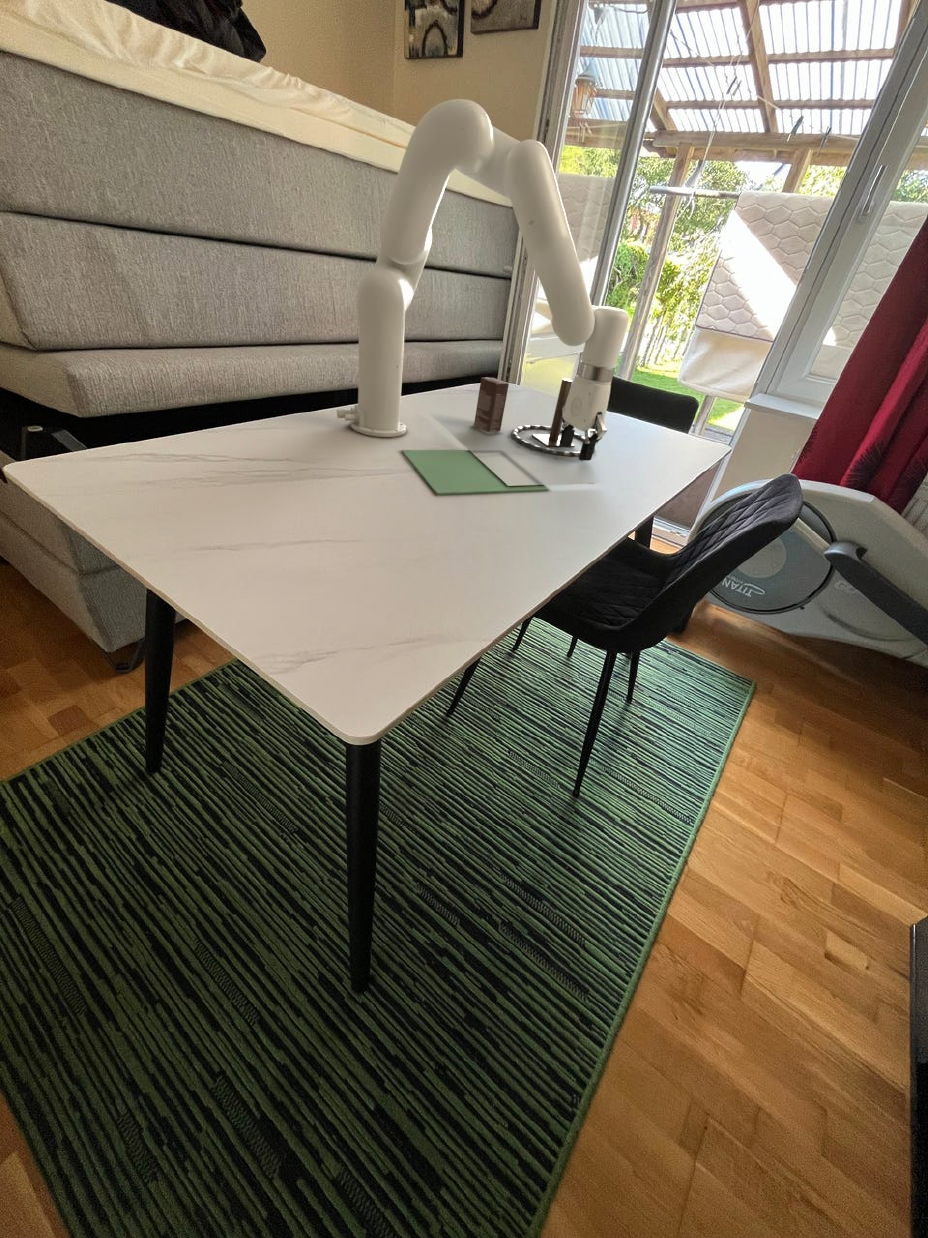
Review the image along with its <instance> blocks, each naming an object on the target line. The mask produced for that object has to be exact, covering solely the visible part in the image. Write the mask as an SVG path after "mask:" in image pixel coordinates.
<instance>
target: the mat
mask: <svg viewBox="0 0 928 1238" xmlns="http://www.w3.org/2000/svg"><path fill="white" fill-rule="evenodd" d="M401 453H402V454H403V455H404V457H405V458H406V459H407V460H408V461H409V463H410V464H411V465H412V466H413V467H414V469H415V471H417V472H418V474H419V475H420V476H421V477H422V478H423V480H424V481H425V482H426V483H427V484H428V486H429V487H430V489H432V490H433V492H434V493H435V494H436V495H437V496H447V495H475V494H476V495H477V494H500V493H504V494H505V493H529V492H530V493H531V492H549V488H548V487H547V486H545V485H544V484H523V485H522V484H521V485H520V484H519V485H508V484H507V483H506V482H505V481H504V480H503V479H501V477H499V476H498V475H497V474H496V473H495V472H494V471H493V470H492V469H491V468H489V466H488V465H487V464H485V463H484V462H483V461H482V460H481V459H480V458H479V457H477V456H476V455H475V454H474V453H473V452H472V451H471V450H470V449H469V450H468V449H427V450H426V449H424V450H423V449H413V450H412V449H404V450H403V449H402V450H401Z"/></svg>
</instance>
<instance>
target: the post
mask: <svg viewBox="0 0 928 1238" xmlns="http://www.w3.org/2000/svg"><path fill="white" fill-rule="evenodd" d="M572 383H573V379H570V378H562V379H561V383H560V388H559V392H558V395H557V400H556V404H555V410H554V413H553V416H552V417H553V418H552V422H551V426H550V427H551V430H550V431H549V434H543V433H542V434H541V433H538V434H536V433H532V434H531V437H532V438H533V439H535V440H536V441H537V442H539V443H541V444H542V445H543V446H545V448H561V447H560V446H559V443H560V439H561V435H560V434H561V433H560V430H561V429H562V425H563V421H562V417H563V414H562V407H563V406H565V404H566V401H567V397H568V394H569V391H570V388H571V386H572ZM575 447H576V445H575V444H574V443H572V445H571V447H570V448H575Z"/></svg>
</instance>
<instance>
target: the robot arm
mask: <svg viewBox="0 0 928 1238" xmlns="http://www.w3.org/2000/svg"><path fill="white" fill-rule="evenodd" d="M455 170H457V171H458V172H459V173H461V174H462V175H464V176H465V177H467V178H469V179H472V180H473V181H475V182H477V183H479V184H481V185H482V186H484V187H486V188H488V189H489V190H491V191H493V192H495V193H497V194H499V195H500V196H503V197H505V198H507V199H508V200H510V203H511V206H512V210H513V212H514V215H515V218H516V222H517V225H518V228H519V232H520V234H521V236H522V240H523V244H524V248H525V250H526V254H527V256H528V259H529V262H530V264H531V266H532V268H533V270H534V271H535V273H536V276H537V277H538V279H539V281H540V284H541V287H542V289H543V292H544V295H545V298H546V301H547V304H548V307H549V310H550V312H551V327H552V329H553V332H554V333H555V335H556V337H558V339H559V340H560V342H561V343H563V344H564V345H566V346H569V347H579V346H581V345H583V344H584V346H583V350H582V354H581V359H580V362H579V367H578V371H577V374H576V375H575V376H574V378H573V380H572V385H571V388H570V391H569V394H568V397H567V401H566V404H565V406H563V407H562V414H563V417H562V421H563V422H562V426H561V429H564V430H563V431H562V433H561V435H560V436H561V439H560V443H559V446H560V447H559V448H572V447H571V445H572V444H573V441H574V433H576V430H575V429H577V430H579V431H581V432H584V437H585V442H582V444H581V448H580V451H579V452H580V455H579V457H578V460H579V461H591V460H592V458H593V454H594V453H593V451H594V448H595V449H596V445H598V443H599V442H600V441H601V440H602V439H603V437H604V436H605V434H606V433H607V432H608V429H607V425H606V422H605V418H606V415H607V411H608V406H609V401H610V395H611V388H612V381H613V377H614V375H615V370H616V367H617V363H618V361H619V357H620V353H621V349H622V346H623V342H624V340H625V339H624V338H625V336H626V331H627V329H628V325H629V322H630V321H629V320H630V314H629V313H628V311H626V310H624V309H621V308H617V307H612V306H604V305H599V306H598V305H593V304H592V301H591V298H590V294H589V290H588V286H587V283H586V280H585V276H584V273H583V269H582V266H581V264H580V263H581V262H580V261H579V257H578V254H577V250H576V246H575V243H574V239H573V236H572V233H571V230H570V225H569V222H568V219H567V215H566V211H565V208H564V205H563V201H562V197H561V193H560V190H559V186H558V182H557V179H556V175H555V171H554V168H553V164H552V161H551V158H550V154H549V152H548V150H547V148H546V147H545V146H544V144H542V143H541V142H540V141H538V140H536V139H525V140H522V141H520V140H519V139H516V138H514V137H512V136H510V135H509V134H507V133H506V132H504V131H502V130H500V129H498V128H497V127H495V126H494V125H492V122H491V119H490V117H489V115H488V113H487V111H486V110H485V109H484V108H483V107H482V106H481V105H480V104H479V103H477V102H475V101H473V100H471V99H465V98H453V99H448V100H445V101H442V102H440V103H438V104H436V105H435V106H433V107H432V108H431V109H430V110H428V111H427V112H426V113H425V114H424V115H423V116H422V118H421V119H420V120H419V121H418V123H417V125H416V126H415V128H414V130H413V131H412V134H411V136H410V138H409V140H408V143H407V145H406V148H405V152H404V154H403V157H402V160H401V164H400V167H399V169H398V173H397V175H396V177H395V180H394V184H393V187H392V190H391V193H390V196H389V199H388V202H387V206H386V209H385V211H384V214H383V216H382V220H381V222H380V227H379V240H380V248H379V252H378V255H377V258H376V261H375V265H374V267H373V268H370V269H369V270H368V271H366V273H364V275H363V276H362V278H361V279H360V282H359V285H358V289H357V296H356V297H357V298H356V300H357V301H356V305H357V307H356V308H357V320H358V321H357V322H358V379H357V380H358V384H357V385H358V386H357V387H358V389H357V390H358V391H357V392H358V393H357V404H354V407H350V409H345V408H336V418H337V419H344V421H350V428H352V430H354V431H355V432H358V434H359V433H360V434H363V435H366V436H371V437H376V438H377V437H378V438H394V437H399V436H402V435H404V434H405V433H406V431H407V429H406V427H407V426H406V424H404V422H402V421H400V419H401V417H400V416H401V401H402V387H403V386H402V385H403V371H404V370H403V369H404V352H405V326H406V325H405V324H406V323H405V322H406V311H407V310H408V309H409V307H410V305H411V303H412V301H413V298H414V296H415V293H416V290H417V287H418V284H419V282H420V279H421V276H422V273H423V271H424V267H425V265H426V262H427V259H428V257H429V253H430V251H431V247H432V241H433V232H432V225H433V223H434V219H435V216H436V214H437V210H438V208H439V205H440V202H441V200H442V198H443V195H444V192H445V189H446V186H447V184H448V181H449V178H450V176H451V174H452V173H453V172H454V171H455ZM591 434H592V435H591Z"/></svg>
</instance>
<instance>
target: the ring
mask: <svg viewBox="0 0 928 1238" xmlns="http://www.w3.org/2000/svg"><path fill="white" fill-rule="evenodd" d="M531 430H532V431H533V430H534V431H547V432H550V430H551V426H548V425H547V426H546V425H537V424H528V425H527V424H526V425H520V426H517V427H515V428H513V429H512V430H511V433H510V436H511V438H512V440H513V441H515V442H516V443H517V444H519V445H521V446H523V447H525V448H527V449H529V450H533V451H535V452H538V453H542V454H546V455H551V456H557V457H566V458H579V455H580V451H564V450H563V451H562V450H555V449H551V448H547V447H542V446H539V445H536V444H533V443H530V442H528V441H526V440H524V439H522V438H521V437H520V436H519V435H518V434H519V433H521V432H524V431H531ZM563 430H564V429H562V428H561V430H560V434H562V431H563ZM573 439H576V440H579V441H580V442H581V443H583V442H585V436H583V435H580V434H578V433H576V432H575V433H574V437H573ZM595 450H596V447H595V448H594V451H593V454H594V453H595Z"/></svg>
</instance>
